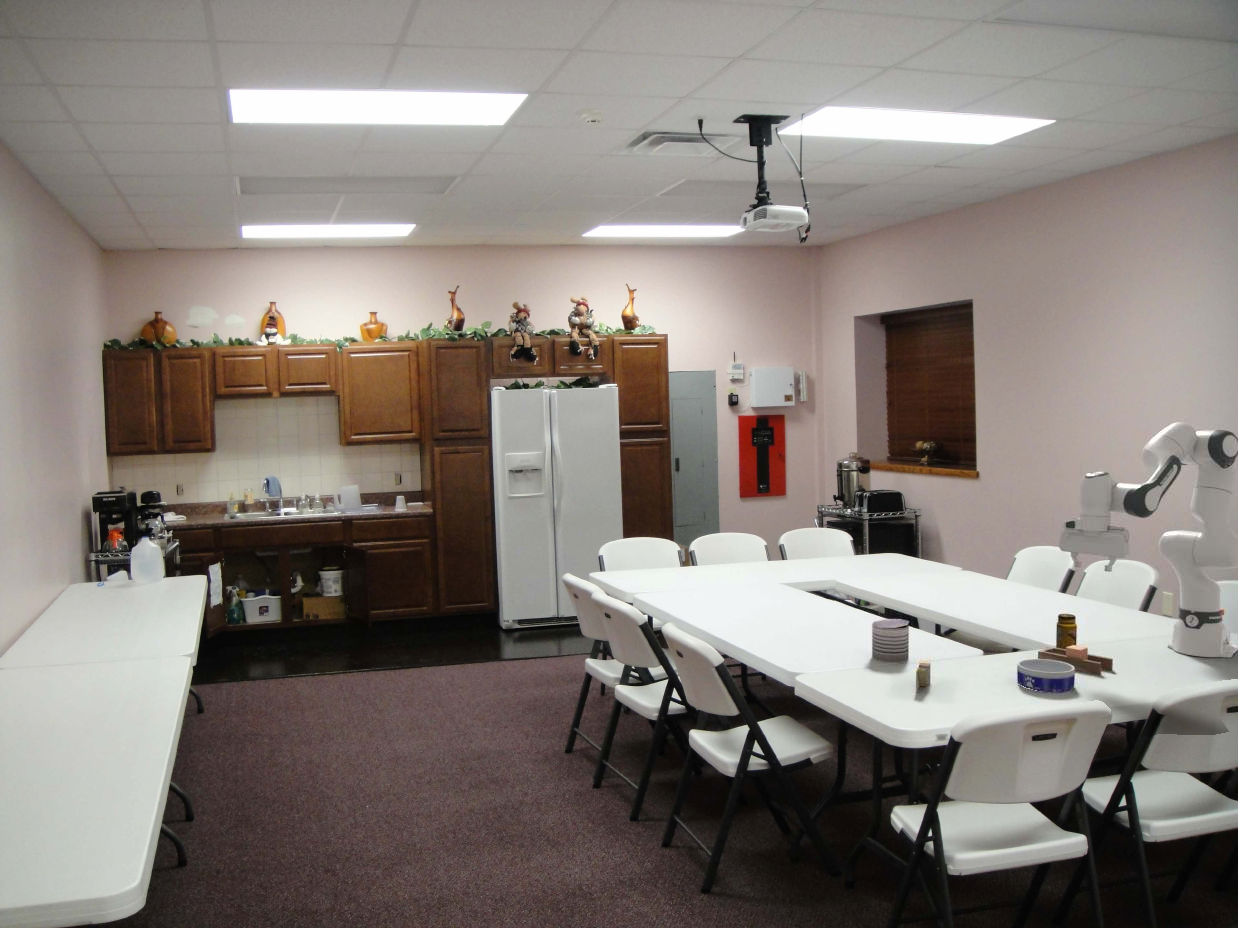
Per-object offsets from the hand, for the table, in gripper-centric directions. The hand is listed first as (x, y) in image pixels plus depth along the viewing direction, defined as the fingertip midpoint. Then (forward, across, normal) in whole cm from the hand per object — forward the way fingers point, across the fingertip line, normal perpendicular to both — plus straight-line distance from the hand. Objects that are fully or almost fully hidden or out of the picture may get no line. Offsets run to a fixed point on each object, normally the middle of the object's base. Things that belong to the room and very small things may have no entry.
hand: (1092, 569), depth 305 cm
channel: (+30, +2, +4) cm, 30 cm away
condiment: (+30, +14, -11) cm, 35 cm away
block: (+30, +2, +4) cm, 30 cm away
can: (+32, +45, +39) cm, 67 cm away
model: (+33, +19, +59) cm, 70 cm away
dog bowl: (+31, -2, +30) cm, 44 cm away
